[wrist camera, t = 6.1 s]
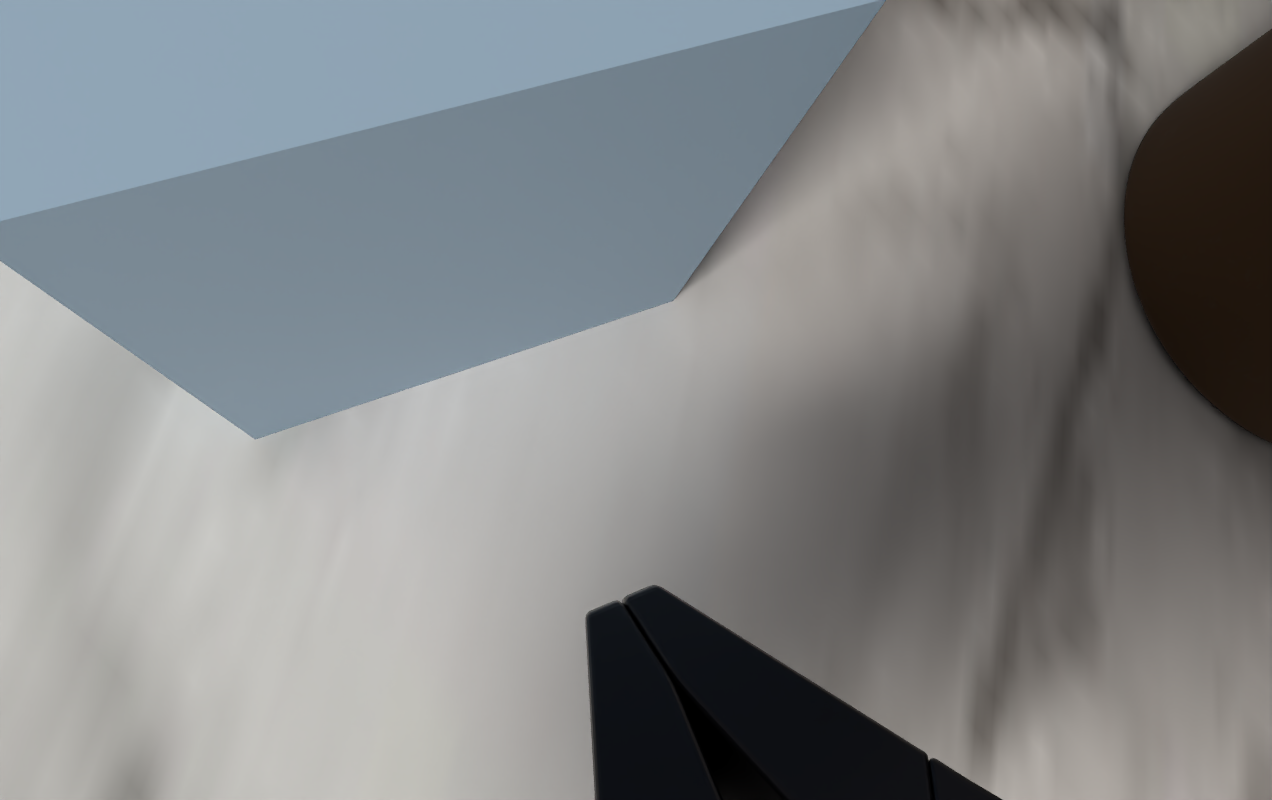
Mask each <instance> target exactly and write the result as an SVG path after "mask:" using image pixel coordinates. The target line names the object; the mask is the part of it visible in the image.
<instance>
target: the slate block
mask: <svg viewBox="0 0 1272 800" xmlns="http://www.w3.org/2000/svg"><path fill="white" fill-rule="evenodd" d="M885 1H886V0H0V261H1V262H3V263H4V264H6V265H7V266H8V267H10V268H11V269H13V270H14V271H16V272H17V273H18V274H20V275H21V276H23V277H24V278H26V279H27V280H28V281H30V282H31V283H33V284H34V285H36V286H37V287H38V288H40V289H41V290H43V291H44V292H46V293H47V294H48V295H50V296H51V297H53V298H54V299H56V300H57V301H58V302H60V303H61V304H63V305H64V306H66V307H67V308H68V309H70V310H71V311H73V312H74V313H75V314H77V315H78V316H80V317H81V318H83V319H84V320H85V321H87V322H88V323H90V324H91V325H93V326H94V327H95V328H97V329H98V330H100V331H101V332H103V333H104V334H105V335H107V336H108V337H110V338H111V339H113V340H114V341H115V342H117V343H118V344H120V345H121V346H123V347H124V348H125V349H127V350H128V351H130V352H131V353H133V354H134V355H135V356H137V357H138V358H140V359H141V360H143V361H144V362H145V363H147V364H148V365H150V366H151V367H153V368H154V369H155V370H157V371H158V372H160V373H161V374H163V375H164V376H165V377H167V378H168V379H170V380H171V381H173V382H174V383H175V384H177V385H178V386H180V387H181V388H183V389H184V390H185V391H187V392H188V393H190V394H191V395H193V396H194V397H195V398H197V399H198V400H200V401H201V402H203V403H204V404H205V405H207V406H208V407H210V408H211V409H213V410H214V411H215V412H217V413H218V414H220V415H221V416H223V417H224V418H225V419H227V420H228V421H230V422H231V423H233V424H234V425H235V426H237V427H238V428H240V429H241V430H243V431H244V432H245V433H247V434H248V435H250V436H251V437H253V438H254V439H258V438H261V437H264V436H267V435H270V434H273V433H276V432H279V431H282V430H285V429H288V428H291V427H294V426H297V425H300V424H303V423H306V422H309V421H312V420H315V419H318V418H321V417H324V416H327V415H330V414H333V413H336V412H339V411H342V410H345V409H348V408H351V407H354V406H357V405H360V404H363V403H366V402H369V401H372V400H375V399H378V398H381V397H384V396H388V395H391V394H394V393H397V392H400V391H403V390H406V389H409V388H412V387H415V386H418V385H421V384H424V383H427V382H430V381H433V380H436V379H439V378H442V377H445V376H448V375H451V374H454V373H457V372H460V371H463V370H466V369H469V368H472V367H475V366H478V365H481V364H484V363H487V362H490V361H493V360H496V359H499V358H502V357H505V356H508V355H511V354H514V353H517V352H520V351H523V350H526V349H529V348H532V347H535V346H538V345H541V344H544V343H547V342H550V341H553V340H556V339H559V338H562V337H565V336H568V335H571V334H574V333H577V332H580V331H583V330H586V329H589V328H592V327H595V326H598V325H601V324H604V323H607V322H610V321H613V320H616V319H619V318H622V317H626V316H629V315H632V314H635V313H638V312H641V311H644V310H647V309H650V308H653V307H656V306H659V305H662V304H665V303H668V302H671V301H673V300H674V299H675V297H676V296H677V295H678V293H679V292H680V290H681V289H682V288H683V286H684V285H685V283H686V282H687V281H688V279H689V278H690V276H691V275H692V273H693V272H694V271H695V269H696V268H697V266H698V265H699V264H700V262H701V261H702V259H703V258H704V257H705V255H706V254H707V252H708V251H709V249H710V248H711V247H712V245H713V244H714V242H715V241H716V240H717V238H718V237H719V235H720V234H721V233H722V231H723V230H724V228H725V227H726V225H727V224H728V223H729V221H730V220H731V218H732V217H733V216H734V214H735V213H736V211H737V210H738V208H739V207H740V206H741V204H742V203H743V201H744V200H745V199H746V197H747V196H748V194H749V193H750V192H751V190H752V189H753V187H754V186H755V184H756V183H757V182H758V180H759V179H760V177H761V176H762V175H763V173H764V172H765V170H766V169H767V168H768V166H769V165H770V163H771V162H772V160H773V159H774V158H775V156H776V155H777V153H778V152H779V151H780V149H781V148H782V146H783V145H784V144H785V142H786V141H787V139H788V138H789V136H790V135H791V134H792V132H793V131H794V129H795V128H796V127H797V125H798V124H799V122H800V121H801V120H802V118H803V117H804V115H805V114H806V112H807V111H808V110H809V108H810V107H811V105H812V104H813V103H814V101H815V100H816V98H817V97H818V96H819V94H820V93H821V91H822V90H823V88H824V87H825V86H826V84H827V83H828V81H829V80H830V79H831V77H832V76H833V74H834V73H835V72H836V70H837V69H838V67H839V66H840V64H841V63H842V62H843V60H844V59H845V57H846V56H847V55H848V53H849V52H850V50H851V49H852V48H853V46H854V45H855V43H856V42H857V40H858V39H859V38H860V36H861V35H862V33H863V32H864V31H865V29H866V28H867V26H868V25H869V24H870V22H871V21H872V19H873V18H874V16H875V15H876V14H877V12H878V11H879V9H880V8H881V7H882V5H883V4H884V2H885Z"/></svg>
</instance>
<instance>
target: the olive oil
mask: <svg viewBox="0 0 1272 800" xmlns="http://www.w3.org/2000/svg"><path fill="white" fill-rule="evenodd" d="M1124 227H1125V240H1126V249H1127V255H1128V260H1129V265H1130V270H1131V274H1132V277H1133V281H1134V284H1135V287H1136V290H1137V293H1138V296H1139V299H1140V301H1141V304H1142V306H1143V309H1144V311H1145V313H1146V315H1147V318H1148V320H1149V322H1150V324H1151V326H1152V328H1153V329H1154V331H1155V333H1156V335H1157V337H1158V338H1159V340H1160V342H1161V343H1162V345H1163V347H1164V348H1165V350H1166V351H1167V353H1168V354H1169V356H1170V357H1171V358H1172V360H1173V361H1174V363H1175V364H1176V365H1177V367H1178V368H1179V369H1180V370H1181V372H1182V373H1183V374H1184V375H1185V376H1186V378H1187V379H1188V380H1189V381H1190V382H1191V383H1192V384H1193V385H1194V386H1195V388H1196V389H1197V390H1198V391H1199V392H1200V393H1201V394H1202V395H1203V396H1204V397H1205V398H1207V399H1208V400H1209V401H1210V402H1211V403H1212V404H1213V405H1214V406H1215V407H1217V408H1218V409H1219V410H1220V411H1221V412H1223V413H1224V414H1225V415H1226V416H1228V417H1229V418H1230V419H1232V420H1233V421H1234V422H1236V423H1237V424H1239V425H1240V426H1242V427H1243V428H1245V429H1246V430H1248V431H1250V432H1251V433H1253V434H1255V435H1257V436H1258V437H1260V438H1262V439H1264V440H1266V441H1268V442H1270V443H1272V29H1271V30H1269V31H1268V32H1267V33H1265V34H1264V35H1263V36H1261V37H1260V38H1258V39H1257V40H1256V41H1254V42H1253V43H1252V44H1250V45H1249V46H1248V47H1246V48H1245V49H1243V50H1242V51H1241V52H1239V53H1238V54H1237V55H1235V56H1234V57H1233V58H1231V59H1230V60H1228V61H1227V62H1226V63H1224V64H1223V65H1222V66H1220V67H1219V68H1218V69H1216V70H1215V71H1213V72H1212V73H1211V74H1209V75H1208V76H1207V77H1205V78H1204V79H1203V80H1201V81H1200V82H1199V83H1197V84H1196V85H1195V86H1193V87H1192V88H1191V89H1189V90H1188V91H1187V92H1186V93H1184V94H1183V95H1182V96H1181V97H1179V98H1178V99H1177V100H1176V101H1174V102H1173V103H1172V104H1171V105H1170V106H1169V107H1168V108H1167V109H1166V110H1165V111H1164V112H1163V113H1162V114H1161V115H1160V116H1159V117H1158V119H1157V120H1156V121H1155V122H1154V124H1153V125H1152V126H1151V128H1150V129H1149V131H1148V132H1147V134H1146V135H1145V137H1144V139H1143V140H1142V142H1141V144H1140V146H1139V148H1138V151H1137V153H1136V155H1135V158H1134V161H1133V164H1132V167H1131V170H1130V174H1129V178H1128V183H1127V189H1126V196H1125V208H1124Z"/></svg>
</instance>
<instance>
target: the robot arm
mask: <svg viewBox="0 0 1272 800" xmlns="http://www.w3.org/2000/svg"><path fill="white" fill-rule="evenodd" d="M586 641H587V659H588V678H589V697H590V715H591V734H592V753H593V771H594V790H595V800H1002V799H1000V798H999V797H997V796H995V795H994V794H992V793H990V792H989V791H987V790H985V789H984V788H982V787H980V786H978V785H977V784H975V783H973V782H972V781H970V780H968V779H967V778H965V777H964V776H962V775H961V774H959V773H957V772H956V771H954V770H953V769H951V768H949V767H948V766H946V765H945V764H943V763H942V762H940V761H938V760H937V759H935V758H932V759H930V760H928V756H927V754H926V753H925V752H924V751H922V750H920V749H919V748H917V747H916V746H914V745H912V744H911V743H909V742H908V741H906V740H904V739H903V738H901V737H900V736H898V735H896V734H895V733H893V732H892V731H890V730H888V729H887V728H885V727H884V726H882V725H881V724H879V723H877V722H876V721H874V720H873V719H871V718H869V717H868V716H866V715H865V714H863V713H861V712H860V711H858V710H857V709H855V708H853V707H852V706H850V705H849V704H847V703H845V702H844V701H842V700H841V699H839V698H837V697H836V696H834V695H833V694H831V693H830V692H828V691H826V690H825V689H823V688H822V687H820V686H818V685H817V684H815V683H814V682H812V681H810V680H809V679H807V678H806V677H804V676H802V675H801V674H799V673H798V672H796V671H794V670H793V669H791V668H790V667H788V666H786V665H785V664H783V663H782V662H780V661H779V660H777V659H775V658H774V657H772V656H771V655H769V654H767V653H766V652H764V651H763V650H761V649H759V648H758V647H756V646H755V645H753V644H751V643H750V642H748V641H747V640H745V639H743V638H742V637H740V636H739V635H737V634H735V633H734V632H732V631H731V630H729V629H728V628H726V627H724V626H723V625H721V624H720V623H718V622H716V621H715V620H713V619H712V618H710V617H708V616H707V615H705V614H704V613H702V612H700V611H699V610H697V609H696V608H694V607H692V606H691V605H689V604H688V603H686V602H684V601H683V600H681V599H680V598H678V597H677V596H675V595H673V594H672V593H670V592H669V591H667V590H665V589H664V588H662V587H660V586H657V585H652V586H648V587H646V588H644V589H641V590H639V591H637V592H634V593H632V594H629V595H627V596H626V597H625V598H624V599H623V602H622V603H621V602H620V601H613V602H610V603H608V604H606V605H603V606H601V607H598V608H596V609H594V610H591V611H589V612H588V613H587V615H586Z"/></svg>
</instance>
